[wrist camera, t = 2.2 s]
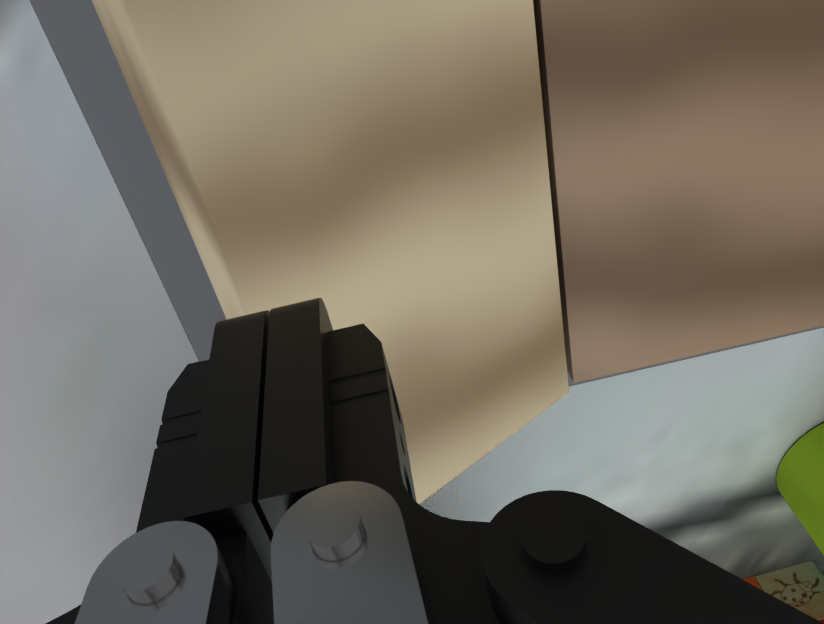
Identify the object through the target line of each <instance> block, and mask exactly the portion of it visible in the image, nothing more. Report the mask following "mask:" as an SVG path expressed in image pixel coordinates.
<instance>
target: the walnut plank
mask: <svg viewBox="0 0 824 624" xmlns="http://www.w3.org/2000/svg"><path fill="white" fill-rule="evenodd" d="M533 6H534V17H535V28H536V39H537V50H538V61H539V71H540V82H541V93H542V104H543V115H544V126H545V137H546V147H547V158H548V169H549V180H550V191H551V202H552V213H553V223H554V234H555V245H556V256H557V267H558V278H559V288H560V299H561V310H562V321H563V332H564V343H565V354H566V364H567V370H568V372H569V375H570V377H571V379H572V381H573V383H577V382H581V381H585V380H590V379H594V378H598V377H603V376H607V375H611V374H615V373H620V372H624V371H628V370H633V369H637V368H641V367H646V366H650V365H654V364H659V363H663V362H667V361H672V360H676V359H680V358H685V357H689V356H693V355H698V354H702V353H706V352H710V351H715V350H719V349H723V348H728V347H732V346H736V345H741V344H745V343H749V342H754V341H758V340H762V339H767V338H771V337H775V336H780V335H784V334H788V333H793V332H797V331H801V330H805V329H810V328H814V327H818V326H823V325H824V0H533Z"/></svg>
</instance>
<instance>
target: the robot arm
mask: <svg viewBox="0 0 824 624" xmlns="http://www.w3.org/2000/svg"><path fill="white" fill-rule="evenodd" d="M162 423H163V425H160V429H159V433H158V438H157V442H156V443H157V449H155V451H154V455H153V460H152V464H151V469H150V473H149V478H148V482H147V486H146V491H145V495H144V500H143V504H142V509H141V513H140V518H139V522H138V526H137V531H136V533H135V534H133V535H132V536H130V537H129V538H127V539H126V540H124V541H123V542H122V543H120V544H119V545H118V546H117V547H115V548H114V549H113V550H112V551H111V552H110V553H109V554H108V555H107V556H106V557H105V559H104V560H103V561H102V562H101V564H100V565H99V566H98V568H97V569H96V571H95V572H94V574H93V576H92V578H91V580H90V582H89V585H88V587H87V590H86V593H85V595H84V598H83V601H82V604H81V605H79V606H78V607H76V608H74V609H73V610H71V611H69V612H67V613H65V614H63V615H62V616H60V617H58V618H56V619H54V620H52V621H50V622H48V623H46V624H824V623H822V622H820V621H818V620H816V619H814V618H813V617H811V616H809V615H807V614H805V613H803V612H801V611H800V610H798V609H796V608H794V607H792V606H790V605H788V604H787V603H785V602H783V601H781V600H779V599H777V598H776V597H774V596H772V595H770V594H768V593H766V592H764V591H763V590H761V589H759V588H757V587H755V586H753V585H751V584H750V583H748V582H746V581H744V580H742V579H740V578H739V577H737V576H735V575H733V574H731V573H729V572H727V571H726V570H724V569H722V568H720V567H718V566H716V565H715V564H713V563H711V562H709V561H707V560H705V559H703V558H702V557H700V556H698V555H696V554H694V553H692V552H690V551H689V550H687V549H685V548H683V547H681V546H679V545H678V544H676V543H674V542H672V541H670V540H668V539H666V538H665V537H663V536H661V535H659V534H657V533H655V532H653V531H652V530H650V529H648V528H646V527H644V526H642V525H641V524H639V523H637V522H635V521H633V520H631V519H629V518H628V517H626V516H624V515H622V514H620V513H618V512H616V511H615V510H613V509H611V508H609V507H607V506H605V505H604V504H602V503H600V502H598V501H596V500H594V499H592V498H589V497H587V496H585V495H581V494H578V493H574V492H568V491H542V492H536V493H532V494H529V495H525V496H523V497H521V498H519V499H516V500H514V501H513V502H511V503H510V504H508V505H506V506H505V507H504V508H503V509H502V510H500V511H499V512H498V513H497V514H496V515H495V517H494V518H493V519H492V520H491V522H475V521H461V520H453V519H449V518H445V517H441V516H439V515H436V514H434V513H432V512H430V511H428V510H426V509H425V508H423V507H422V506H420V505H419V504H418V503H417V502H416V496H415V490H414V484H413V478H412V473H411V466H410V460H409V454H408V450H407V442H406V436H405V430H404V424H403V419H402V415H401V412H400V408H399V404H398V401H397V397H396V394H395V390H394V386H393V383H392V379H391V375H390V372H389V368H388V365H387V361H386V357H385V354H384V350H383V346H382V343H381V341H380V340H379V339H378V338H377V337H376V336H375V335H374V334H373V333H372V332H371V331H370V330H369V329H368V328H367V327H366V326H365V325H364V323H363V324H359V325H354V326H350V327H346V328H342V329H337V330H333V328H332V325H331V322H330V319H329V315H328V312H327V309H326V307H325V304H324V302H323V300H322V298H316V299H312V300H308V301H303V302H299V303H295V304H290V305H286V306H282V307H278V308H273V309H271V310H270V311H268V310H265V311H261V312H257V313H253V314H248V315H244V316H240V317H235V318H231V319H227V320H223V321H218V322H217V323H216V325H215V328H214V334H213V340H212V346H211V352H210V359H209V360H205V361H200V362H196V363H192V364H188V365H187V366H186V367H185V369H184V370H183V372H182V373H181V374H180V376H179V377H178V379H177V380H176V381H175V383H174V384H173V385H172V387H171V388H170V390H169V391H168V393H167V398H166V402H165V407H164V411H163V415H162Z"/></svg>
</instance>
